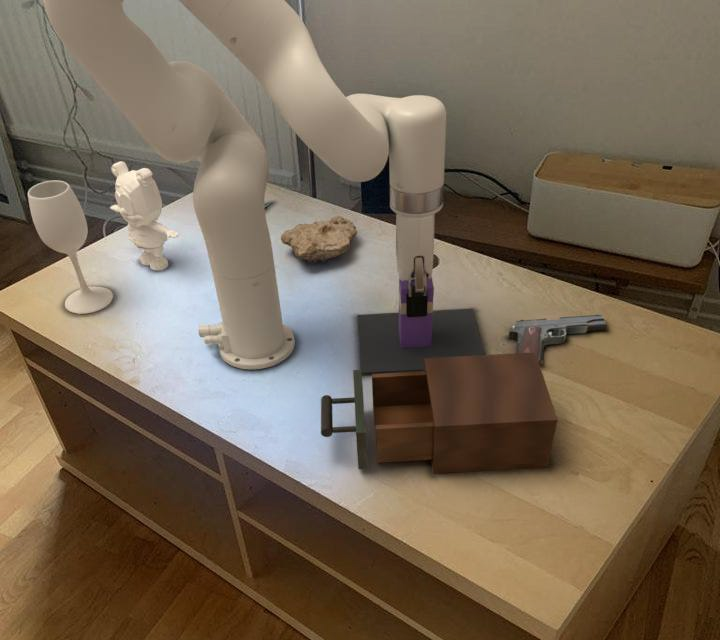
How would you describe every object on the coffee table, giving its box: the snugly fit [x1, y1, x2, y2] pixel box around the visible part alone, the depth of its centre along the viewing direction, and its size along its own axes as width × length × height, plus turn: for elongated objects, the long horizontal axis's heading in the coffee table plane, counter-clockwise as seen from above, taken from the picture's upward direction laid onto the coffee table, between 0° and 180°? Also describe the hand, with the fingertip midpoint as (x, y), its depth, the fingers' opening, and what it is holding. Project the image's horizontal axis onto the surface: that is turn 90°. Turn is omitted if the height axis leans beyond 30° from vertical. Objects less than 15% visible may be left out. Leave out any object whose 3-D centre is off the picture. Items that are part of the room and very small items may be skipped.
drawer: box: [320, 369, 434, 470], centre depth 101 cm, size 19×13×7 cm
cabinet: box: [424, 352, 559, 474], centre depth 101 cm, size 16×14×9 cm
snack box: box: [398, 273, 435, 348], centre depth 115 cm, size 5×4×11 cm
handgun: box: [507, 314, 607, 365], centre depth 117 cm, size 17×11×2 cm, turn 95°
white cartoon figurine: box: [109, 160, 180, 271], centre depth 133 cm, size 8×20×19 cm, turn 49°
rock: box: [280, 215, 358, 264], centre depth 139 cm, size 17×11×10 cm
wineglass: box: [27, 179, 114, 315], centre depth 125 cm, size 9×9×21 cm
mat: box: [357, 308, 485, 376], centre depth 120 cm, size 20×16×1 cm
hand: (415, 305), depth 114 cm, fingers closed on snack box, 4 cm apart
